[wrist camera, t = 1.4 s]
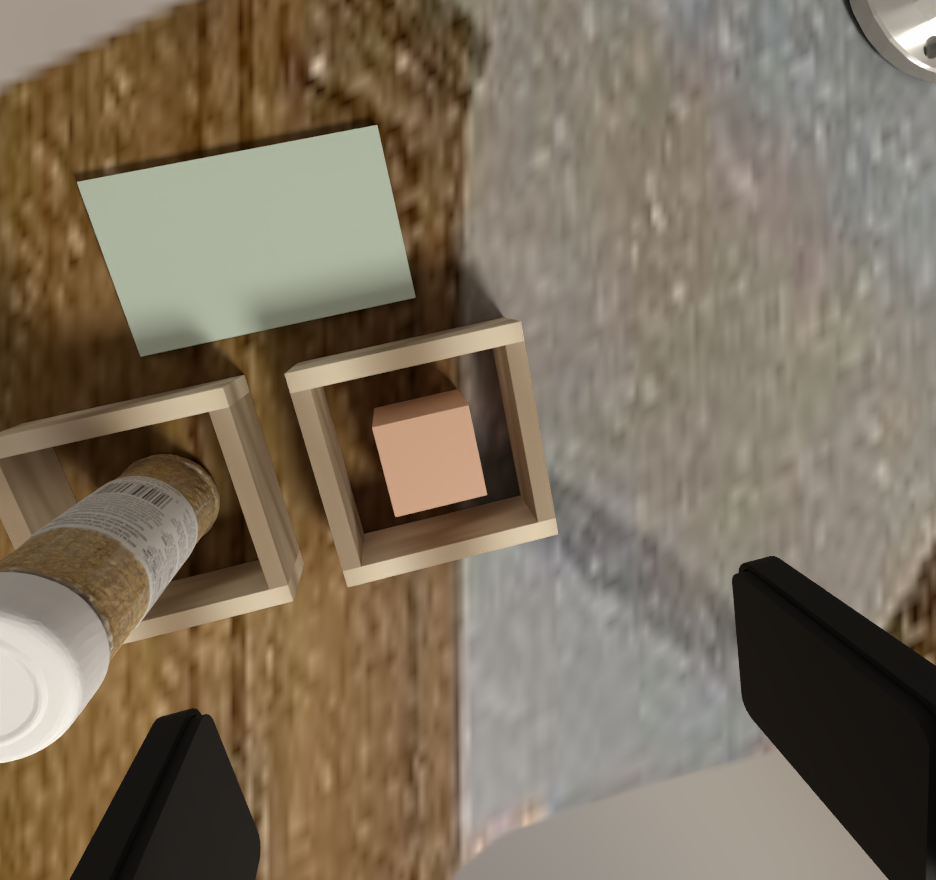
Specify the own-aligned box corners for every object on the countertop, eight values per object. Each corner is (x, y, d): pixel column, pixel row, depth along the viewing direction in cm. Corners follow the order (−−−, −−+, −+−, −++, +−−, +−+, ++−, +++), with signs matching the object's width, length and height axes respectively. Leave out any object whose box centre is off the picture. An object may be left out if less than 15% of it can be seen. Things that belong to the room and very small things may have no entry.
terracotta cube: (457, 388, 27) (468, 405, 23) (473, 466, 28) (487, 495, 24) (374, 407, 27) (371, 427, 23) (394, 486, 28) (395, 517, 24)
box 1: (244, 374, 26) (222, 387, 22) (304, 564, 28) (293, 601, 25) (22, 423, 25) (-35, 444, 22) (105, 613, 28) (66, 658, 24)
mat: (377, 127, 24) (376, 124, 23) (415, 297, 26) (415, 297, 25) (81, 183, 23) (76, 182, 23) (144, 355, 25) (140, 356, 24)
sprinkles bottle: (101, 514, 26) (-172, 731, 13) (147, 432, 26) (-93, 576, 13) (195, 559, 27) (27, 798, 15) (242, 481, 27) (109, 659, 14)
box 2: (503, 317, 27) (520, 321, 23) (538, 506, 29) (558, 534, 26) (297, 363, 26) (284, 374, 22) (352, 552, 28) (347, 587, 25)
